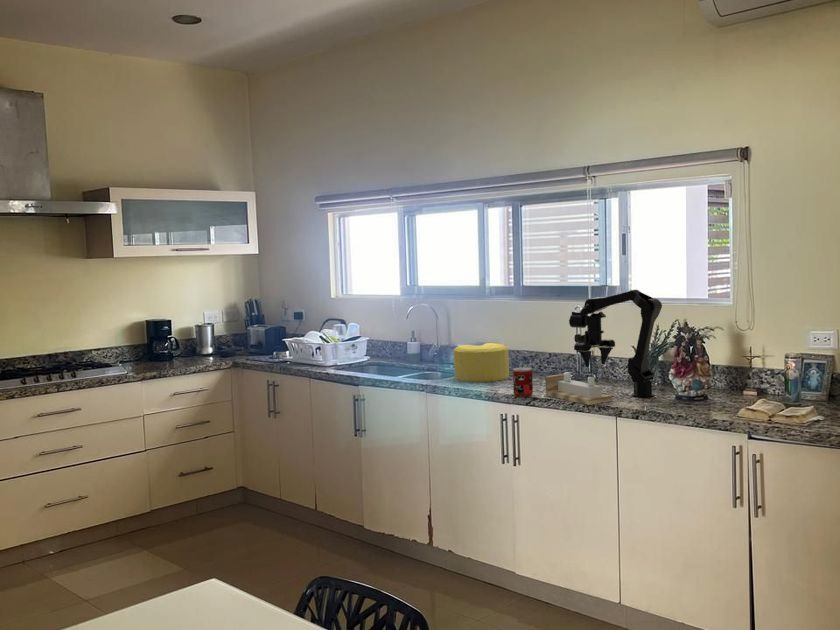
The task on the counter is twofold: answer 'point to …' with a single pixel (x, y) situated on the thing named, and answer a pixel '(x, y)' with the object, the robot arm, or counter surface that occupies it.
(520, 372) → the canned food
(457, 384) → the counter surface
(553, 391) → the shelf
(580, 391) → the white studded brick
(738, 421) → the counter surface
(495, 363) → the cheese
